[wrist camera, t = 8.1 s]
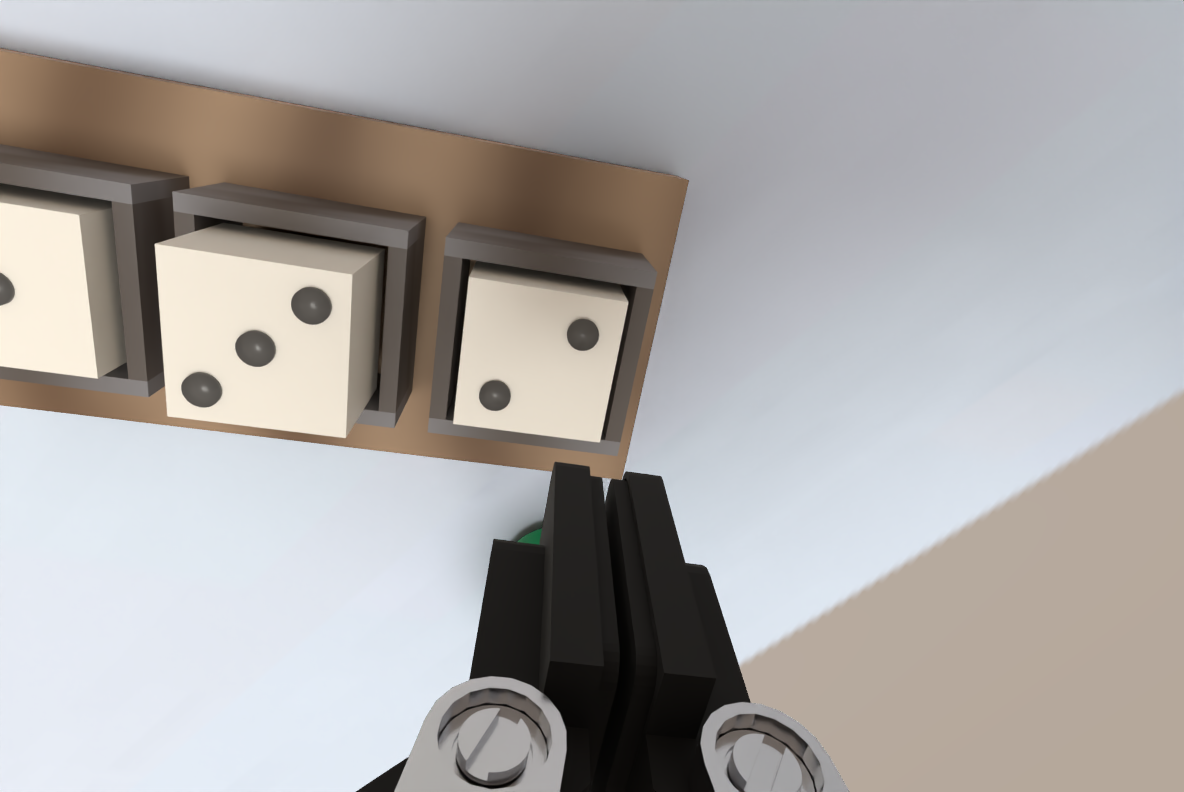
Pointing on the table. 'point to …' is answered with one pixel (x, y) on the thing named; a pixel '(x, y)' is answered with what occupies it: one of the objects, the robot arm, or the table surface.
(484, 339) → the two dot button
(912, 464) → the table surface
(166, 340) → the three dot button
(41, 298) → the one dot button
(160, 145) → the button panel
